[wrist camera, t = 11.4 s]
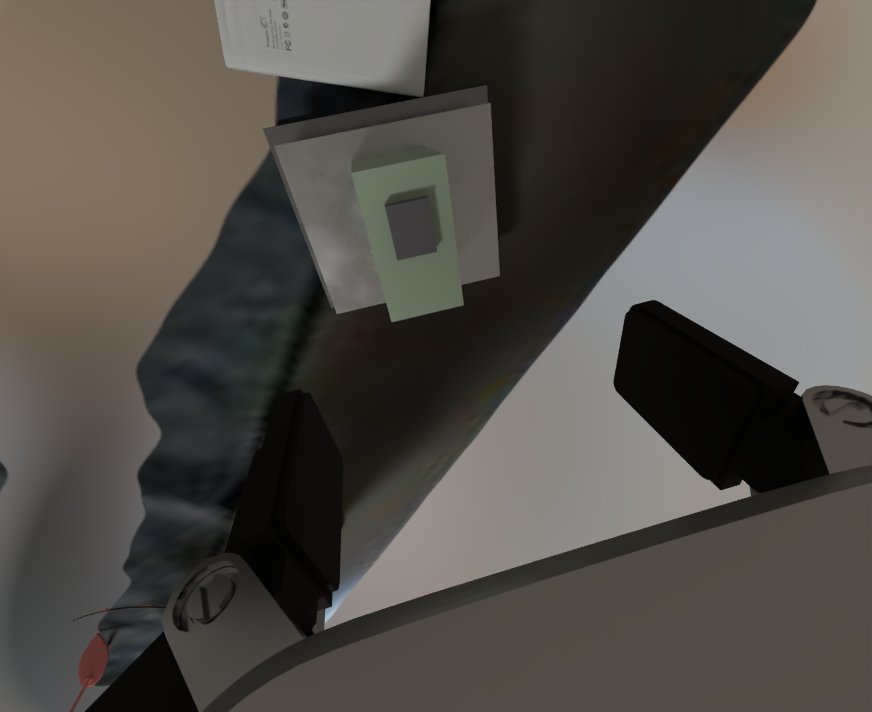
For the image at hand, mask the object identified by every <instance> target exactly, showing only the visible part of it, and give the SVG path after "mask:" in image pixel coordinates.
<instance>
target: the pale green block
mask: <svg viewBox="0 0 872 712" xmlns="http://www.w3.org/2000/svg"><path fill="white" fill-rule="evenodd" d="M351 175H352V178H353V182H354V186H355V189H356V193H357V197H358V200H359V204H360V208H361V211H362V215H363V219H364V223H365V226H366V230H367V234H368V237H369V241H370V245H371V248H372V252H373V256H374V259H375V263H376V267H377V270H378V274H379V278H380V281H381V285H382V289H383V292H384V296H385V300H386V303H387V307H388V311H389V314H390V318H391V322H395V321H399V320H404V319H408V318H412V317H416V316H420V315H425V314H429V313H433V312H437V311H441V310H446V309H450V308H454V307H458V306H462V305H464V302H463V294H462V286H461V278H460V270H459V262H458V254H457V246H456V238H455V230H454V222H453V214H452V206H451V198H450V190H449V182H448V174H447V166H446V158H445V153H442V152H439V151H437V150H434V149H431V148H429V147H426V146H425V147H420V148H416V149H411V150H406V151H401V152H396V153H391V154H386V155H381V156H377V157H372V158H367V159H362V160H357V161H352V166H351Z"/></svg>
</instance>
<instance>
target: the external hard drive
mask: <svg viewBox="0 0 872 712" xmlns="http://www.w3.org/2000/svg"><path fill="white" fill-rule="evenodd" d="M214 2H215V8H216V14H217V20H218V25H219V31H220V37H221V42H222V48H223V54H224V59H225V63H226V66H227V67H229V68H231V69H234V70H241V71H247V72H254V73H260V74H267V75H274V76H282V77H288V78H295V79H301V80H308V81H314V82H321V83H328V84H334V85H341V86H348V87H355V88H361V89H368V90H374V91H381V92H388V93H395V94H401V95H408V96H415V97H423V95H424V86H425V72H426V58H427V44H428V30H429V16H430V3H431V0H214Z"/></svg>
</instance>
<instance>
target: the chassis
mask: <svg viewBox="0 0 872 712" xmlns="http://www.w3.org/2000/svg"><path fill="white" fill-rule="evenodd" d="M263 130H264V133H265V135H266V138H267V140H268V143H269V146H270V148H271V151H272V154H273V156H274V159H275V162H276V164H277V167H278V169H279V172H280V175H281V177H282V180H283V183H284V185H285V188H286V190H287V193H288V196H289V198H290V201H291V204H292V206H293V209H294V211H295V214H296V217H297V219H298V222H299V225H300V227H301V230H302V232H303V235H304V238H305V240H306V243H307V246H308V248H309V251H310V253H311V256H312V259H313V261H314V264H315V266H316V269H317V272H318V274H319V277H320V280H321V282H322V285H323V287H324V290H325V293H326V295H327V298H328V301H329V303H330V306H331V308H334V307H335V310H336V313H337V314H339V313H344V312H348V311H352V310H356V309H361V308H365V307H369V306H374V305H378V304H382V303H386V300H385V296H384V292H383V289H382V285H381V281H380V278H379V274H378V270H377V267H376V263H375V259H374V256H373V252H372V248H371V245H370V241H369V237H368V234H367V230H366V226H365V223H364V219H363V215H362V211H361V208H360V204H359V200H358V197H357V193H356V189H355V186H354V182H353V178H352V175H351V166H352V161H357V160H362V159H367V158H372V157H377V156H381V155H386V154H391V153H396V152H401V151H406V150H411V149H416V148H420V147H425V146H426V147H429V148H431V149H434V150H437V151H439V152H442V153H445V158H446V166H447V174H448V182H449V190H450V198H451V206H452V214H453V222H454V230H455V238H456V246H457V254H458V262H459V270H460V278H461V285H463V284H468V283H472V282H476V281H480V280H485V279H489V278H493V277H497V276H500V271H499V252H498V233H497V214H496V195H495V177H494V158H493V139H492V120H491V103H488V94H487V85H484V86H479V87H474V88H469V89H464V90H459V91H454V92H449V93H443V94H438V95H433V96H428V97H423V98H418V99H413V100H408V101H403V102H398V103H392V104H387V105H382V106H377V107H372V108H367V109H362V110H357V111H352V112H346V113H341V114H336V115H331V116H326V117H321V118H316V119H311V120H306V121H301V122H295V123H290V124H285V125H280V126H275V127H270V128H265V129H263Z"/></svg>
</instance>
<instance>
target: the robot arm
mask: <svg viewBox="0 0 872 712" xmlns="http://www.w3.org/2000/svg"><path fill="white" fill-rule="evenodd" d="M798 384H799V382H798V381H796V380H795V379H793V378H791V377H789V376H788V375H786V374H784V373H782V372H780V371H779V370H777V369H775V368H774V367H772V366H770V365H768V364H767V363H765V362H763V361H761V360H760V359H758V358H756V357H754V356H753V355H751V354H749V353H747V352H746V351H744V350H742V349H740V348H738V347H737V346H735V345H733V344H732V343H730V342H728V341H726V340H725V339H723V338H721V337H719V336H718V335H716V334H714V333H712V332H710V331H709V330H707V329H705V328H704V327H702V326H700V325H698V324H697V323H695V322H693V321H691V320H690V319H688V318H686V317H684V316H683V315H681V314H679V313H677V312H676V311H674V310H672V309H670V308H669V307H667V306H665V305H663V304H662V303H660V302H658V301H655V300H651V301H647V302H643V303H639V304H636V305H633V306H632V307H631V308H630V310H629V311H628V312H627V313H626V315H625V319H624V325H623V331H622V336H621V342H620V348H619V354H618V359H617V365H616V370H615V376H614V387H615V389H616V391H617V392H618V393H619V394H620V395H621V396H622V397H623V398H624V400H625V401H627V402H628V403H629V405H631V406H632V408H633V409H634V410H636V412H637V413H639V415H640V416H641V417H643V419H644V420H645V421H647V423H648V424H649V425H650V426H651V427H652V428H654V430H655V431H656V432H657V433H658V434H659V435H661V437H663V438H664V439H665V440H666V442H667V443H668V444H669V445H670V446H671V447H672V448H673V449H674V450H675V451H676V452H677V453H678V454H679V455H680V456H681V457H682V458H683V459H684V460H685V461H686V462H687V463H688V464H690V466H691V467H692V468H693V469H694V470H695V471H696V472H698V474H699V475H700V476H702V477H703V478H705V479H707V480H710V481H711V482H713V484H714V485H716V486H717V487H718V488H719V489H720V490H723V489H726V488H730V487H733V486H737V485H740V483H741V481H742V480H744V481H745V482H746V483H747V484H748V485H749V486H750V492H751V497H747V498H744V499H741V500H737V501H734V502H731V503H727V504H724V505H721V506H717V507H714V508H710V509H707V510H704V511H700V512H697V513H694V514H690V515H687V516H684V517H680V518H677V519H673V520H670V521H667V522H663V523H660V524H657V525H653V526H650V527H647V528H643V529H640V530H637V531H634V532H630V533H627V534H624V535H620V536H617V537H614V538H610V539H608V540H604V541H601V542H597V543H594V544H591V545H587V546H584V547H581V548H577V549H574V550H571V551H567V552H564V553H561V554H558V555H554V556H551V557H548V558H545V559H541V560H538V561H535V562H532V563H528V564H525V565H522V566H518V567H515V568H512V569H509V570H505V571H502V572H499V573H496V574H492V575H489V576H486V577H483V578H479V579H476V580H473V581H470V582H466V583H463V584H460V585H457V586H454V587H450V588H447V589H444V590H441V591H437V592H434V593H431V594H428V595H425V596H422V597H419V598H416V599H413V600H410V601H406V602H403V603H400V604H397V605H394V606H391V607H388V608H385V609H382V610H379V611H376V612H373V613H370V614H367V615H364V616H361V617H358V618H355V619H352V620H349V621H347V622H344V623H342V624H339V625H337V626H334V627H331V628H329V629H326V630H324V623H325V609H326V608H329V607H332V592H333V591H336V590H338V588H339V583H340V552H341V517H342V482H343V462H342V458H341V455H340V453H339V451H338V449H337V447H336V444H335V442H334V440H333V438H332V436H331V434H330V432H329V430H328V428H327V426H326V424H325V422H324V420H323V418H322V416H321V414H320V412H319V410H318V408H317V406H316V404H315V402H314V400H313V398H312V396H311V395H310V393H308V392H307V393H303V392H302V391H301V390H300V389H297V390H294V391H290V392H286V393H282V394H279V395H277V397H276V400H275V404H274V407H273V411H272V414H271V418H270V421H269V425H268V428H267V432H266V435H265V439H264V442H263V446H262V448H261V449H258V450H257V451H256V452H255V455H254V457H253V460H252V463H251V466H250V470H249V473H248V476H247V480H246V483H245V486H244V490H243V493H242V496H241V500H240V503H239V506H238V510H237V513H236V516H235V520H234V523H233V526H232V529H231V533H230V536H229V539H228V543H227V546H226V549H225V553H223V554H218V555H215V556H213V557H211V558H209V559H207V560H205V561H203V562H202V563H200V564H199V565H198V566H196V567H195V568H194V569H192V570H191V571H190V572H189V573H188V574H187V575H186V577H185V578H184V579H183V580H182V581H181V582H180V583H179V585H178V586H177V588H176V589H175V590H174V592H173V593H172V595H171V597H170V599H169V601H168V604H167V606H166V608H165V612H164V617H163V628H164V632H163V633H162V634H161V635H160V636H159V637H158V638H157V639H156V640H155V641H154V642H153V643H152V644H151V645H150V646H149V647H148V648H147V649H146V650H145V651H144V652H143V653H142V654H141V655H140V656H139V657H138V658H137V659H136V660H135V661H134V662H133V663H132V664H131V665H130V666H129V667H128V668H127V669H126V670H125V671H124V672H123V673H122V674H121V675H120V676H119V677H118V678H117V679H116V680H115V681H114V682H113V683H112V684H111V685H110V686H109V687H108V689H107V690H106V691H105V692H104V693H103V694H102V695H101V696H100V697H99V698H98V699H97V700H96V701H95V702H94V703H93V704H92V705H91V706H90V707H89V708H88V709H87V710H86V711H85V712H872V396H871V395H868V394H866V393H863V392H860V391H856V390H853V389H849V388H844V387H839V386H826V385H825V386H815V387H812V388H809V389H807V390H806V391H805V392H804V393H803V394H802V396H801V397H800V396H799V395H797V394H795V393H794V391H795V389H796V387H797V385H798Z"/></svg>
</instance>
